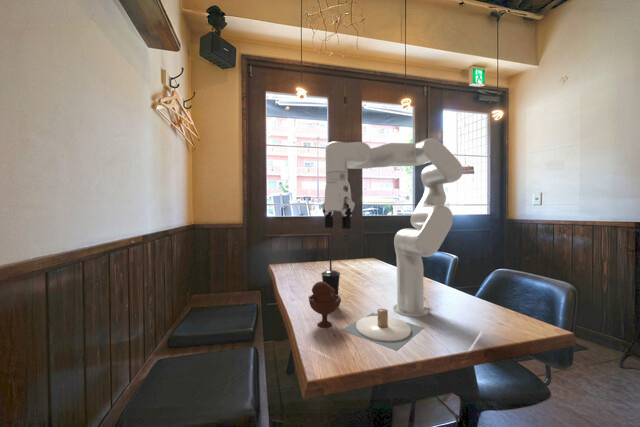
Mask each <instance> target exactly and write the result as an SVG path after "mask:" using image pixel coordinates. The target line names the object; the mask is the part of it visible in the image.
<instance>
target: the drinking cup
mask: <svg viewBox="0 0 640 427" xmlns="http://www.w3.org/2000/svg"><path fill="white" fill-rule="evenodd" d="M320 274H321V280H322V282H326V283H327V284H328V285H330V286H331V287H333V288H334V289H335V294H336V295H339V287H340V286H339V285H340V276H341V272H339V271H337V270H334V269H332V257H330V256H329V269H327V270H325V271H322V272H321V273H320Z"/></svg>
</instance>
